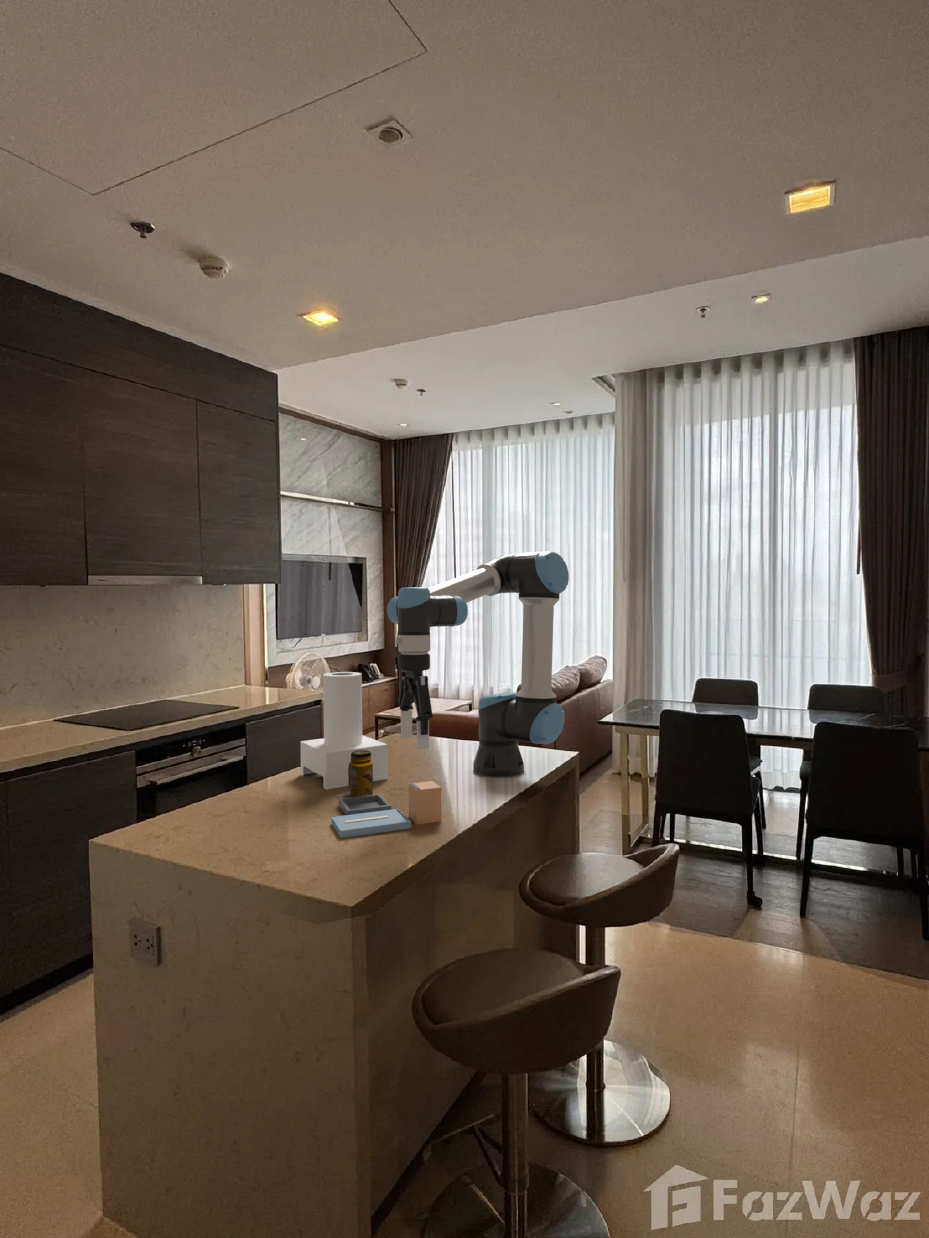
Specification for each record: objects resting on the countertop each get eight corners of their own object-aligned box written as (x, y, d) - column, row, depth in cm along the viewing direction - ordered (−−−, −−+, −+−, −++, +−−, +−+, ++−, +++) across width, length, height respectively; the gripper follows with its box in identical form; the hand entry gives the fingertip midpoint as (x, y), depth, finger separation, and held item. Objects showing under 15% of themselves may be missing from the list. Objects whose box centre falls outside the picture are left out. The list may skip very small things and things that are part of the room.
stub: (432, 813, 166) (432, 780, 165) (441, 821, 160) (441, 786, 160) (408, 816, 163) (408, 782, 163) (416, 824, 158) (416, 789, 157)
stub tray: (379, 801, 175) (379, 793, 175) (391, 813, 166) (391, 805, 165) (338, 806, 171) (338, 798, 171) (347, 819, 162) (347, 810, 161)
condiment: (379, 798, 178) (378, 752, 178) (348, 804, 174) (348, 757, 173) (366, 791, 184) (366, 747, 184) (337, 797, 180) (336, 751, 179)
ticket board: (398, 815, 164) (398, 807, 164) (411, 828, 155) (411, 820, 155) (331, 823, 158) (331, 816, 158) (340, 838, 149) (340, 829, 149)
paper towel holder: (387, 779, 197) (386, 674, 196) (326, 789, 187) (324, 679, 186) (359, 765, 213) (358, 669, 212) (300, 775, 202) (299, 673, 201)
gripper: (385, 649, 172) (385, 734, 173) (413, 657, 149) (414, 755, 149) (414, 648, 175) (414, 732, 175) (446, 656, 151) (446, 752, 152)
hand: (414, 742), depth 162 cm, fingers open, 13 cm apart
